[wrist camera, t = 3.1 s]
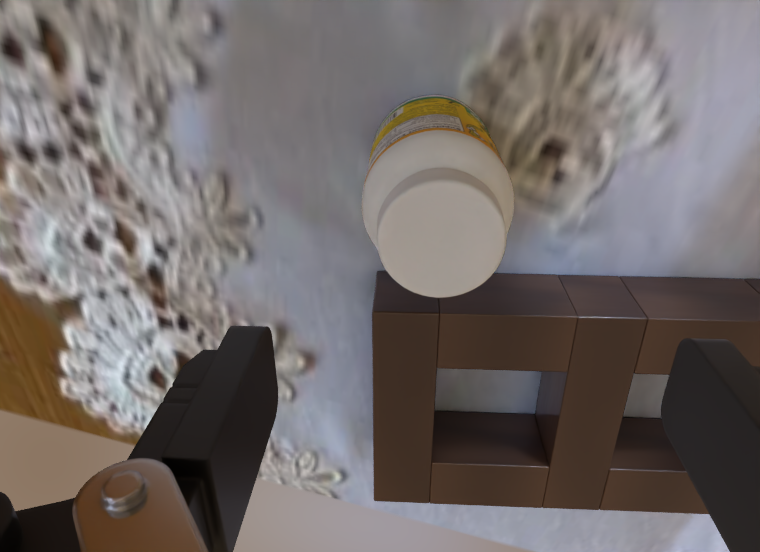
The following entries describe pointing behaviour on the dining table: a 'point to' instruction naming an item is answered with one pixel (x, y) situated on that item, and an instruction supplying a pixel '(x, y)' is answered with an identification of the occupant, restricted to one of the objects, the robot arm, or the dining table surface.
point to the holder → (543, 388)
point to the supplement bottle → (437, 197)
